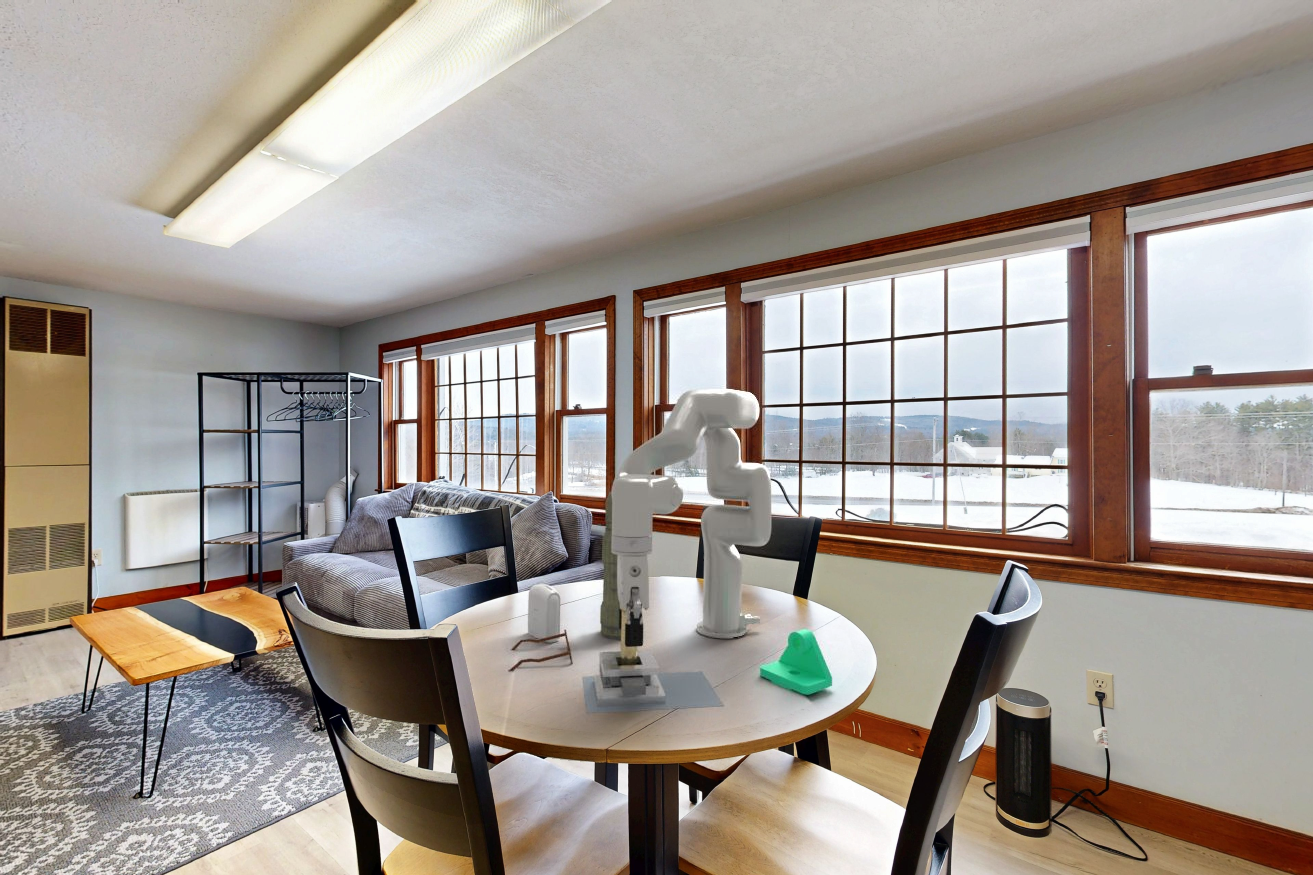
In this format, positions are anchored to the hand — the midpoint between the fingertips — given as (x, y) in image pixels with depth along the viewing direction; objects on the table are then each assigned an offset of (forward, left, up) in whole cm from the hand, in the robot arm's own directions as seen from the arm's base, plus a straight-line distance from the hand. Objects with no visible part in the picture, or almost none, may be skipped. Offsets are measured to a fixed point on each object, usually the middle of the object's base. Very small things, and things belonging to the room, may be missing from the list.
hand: (630, 636), depth 109 cm
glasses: (+17, -21, -11) cm, 29 cm away
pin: (0, 0, -9) cm, 9 cm away
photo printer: (+16, -35, -11) cm, 40 cm away
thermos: (-2, -36, -11) cm, 37 cm away
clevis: (0, +2, -10) cm, 10 cm away
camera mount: (-32, -1, -11) cm, 34 cm away
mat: (-4, 0, -11) cm, 11 cm away
